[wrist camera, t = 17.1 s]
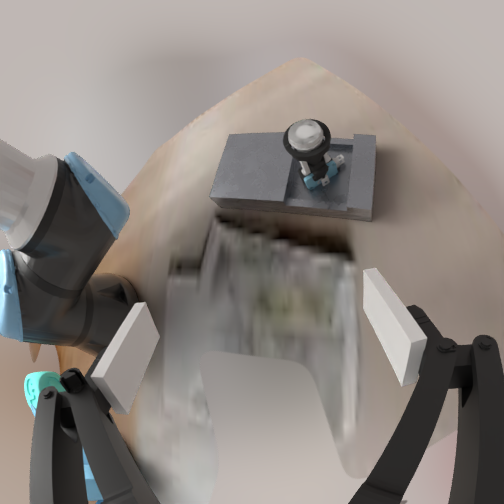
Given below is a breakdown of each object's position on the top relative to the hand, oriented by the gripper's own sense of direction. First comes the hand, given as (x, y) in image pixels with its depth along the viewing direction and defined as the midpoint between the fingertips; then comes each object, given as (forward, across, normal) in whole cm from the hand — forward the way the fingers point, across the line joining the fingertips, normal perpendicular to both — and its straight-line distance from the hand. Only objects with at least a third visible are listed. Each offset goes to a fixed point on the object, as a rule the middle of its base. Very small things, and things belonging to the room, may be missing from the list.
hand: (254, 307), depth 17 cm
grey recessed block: (+28, +6, +2) cm, 28 cm away
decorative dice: (+17, -48, -29) cm, 59 cm away
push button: (+25, +10, +3) cm, 27 cm away
